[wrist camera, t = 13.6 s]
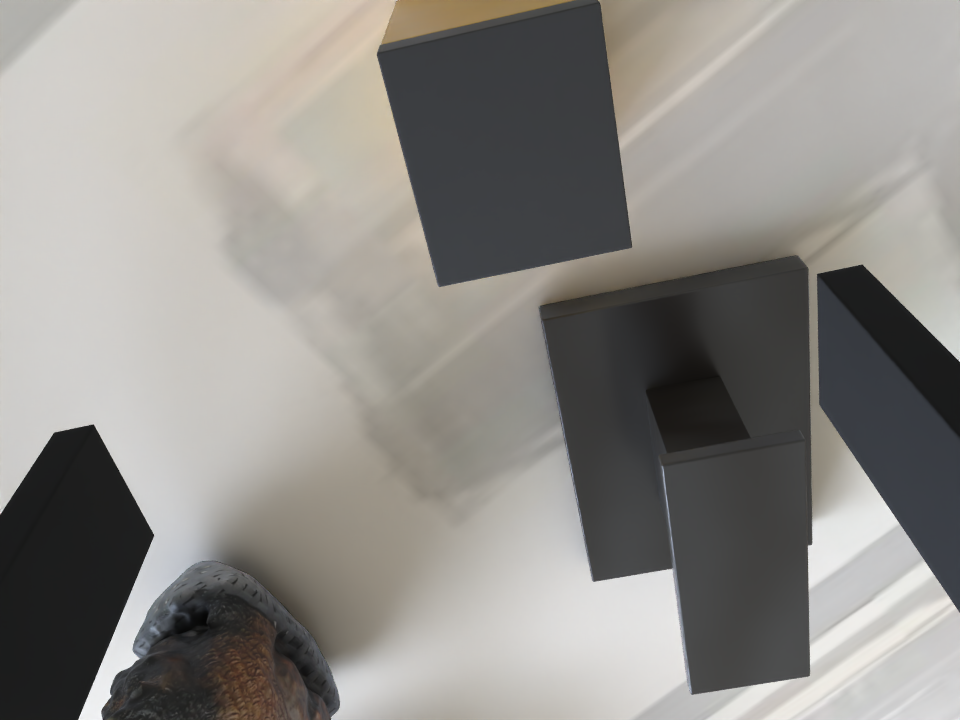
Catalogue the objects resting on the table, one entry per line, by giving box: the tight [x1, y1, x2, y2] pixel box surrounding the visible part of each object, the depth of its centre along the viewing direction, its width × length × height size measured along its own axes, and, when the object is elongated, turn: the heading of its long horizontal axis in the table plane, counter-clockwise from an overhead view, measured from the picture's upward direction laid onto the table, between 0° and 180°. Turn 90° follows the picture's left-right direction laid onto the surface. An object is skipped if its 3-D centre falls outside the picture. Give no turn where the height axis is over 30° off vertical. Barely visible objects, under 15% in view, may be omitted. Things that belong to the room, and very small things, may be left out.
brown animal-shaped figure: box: [101, 561, 340, 720], centre depth 38 cm, size 12×7×10 cm, turn 24°
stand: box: [539, 256, 812, 695], centre depth 33 cm, size 10×14×9 cm
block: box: [377, 0, 632, 287], centre depth 26 cm, size 6×6×8 cm
